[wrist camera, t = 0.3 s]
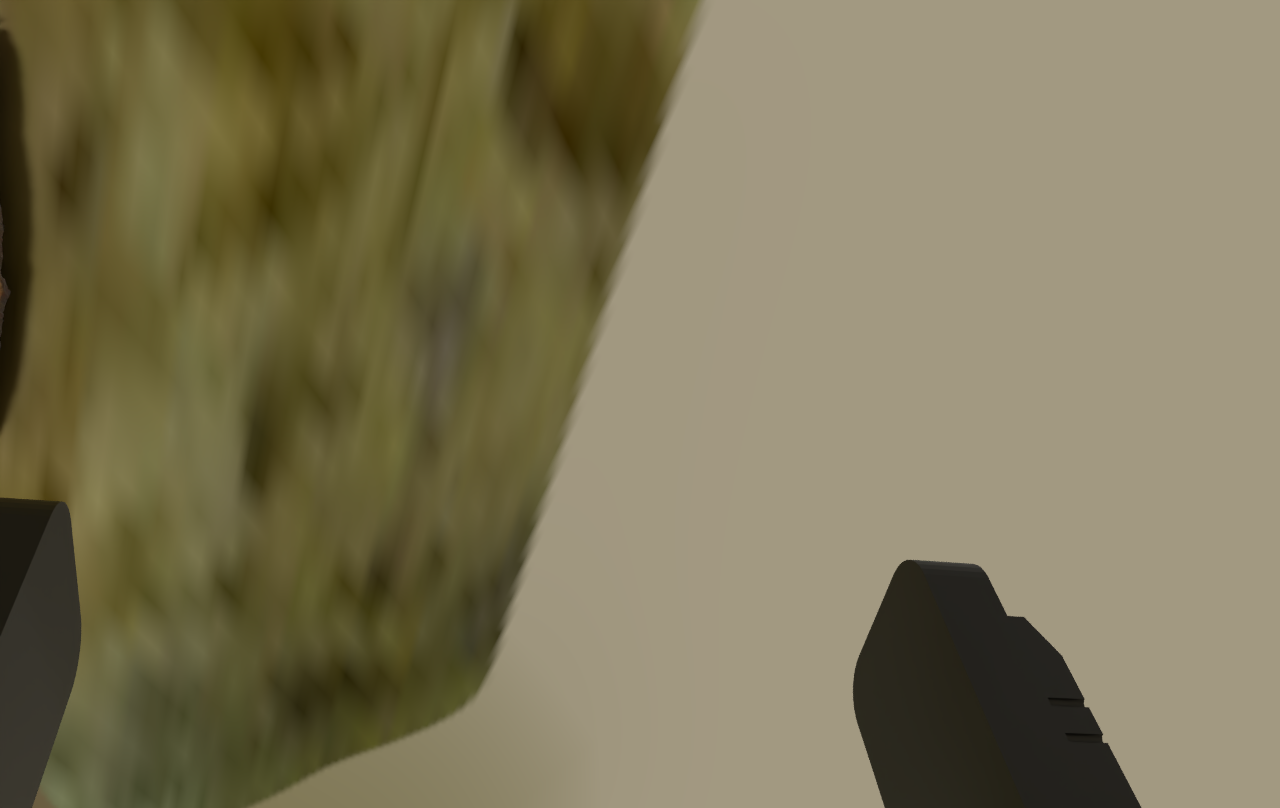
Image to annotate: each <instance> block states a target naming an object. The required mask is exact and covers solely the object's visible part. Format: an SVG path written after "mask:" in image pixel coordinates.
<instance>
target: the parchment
mask: <svg viewBox="0 0 1280 808" xmlns="http://www.w3.org/2000/svg"><path fill="white" fill-rule="evenodd" d="M2 223H3V218H2V213H1V205H0V270H1V265H2V260H3V252H2V241H3V239H2V236H3V232H4V228H5V225H4V224H2ZM10 293H11V291H10V290H9V289H8V287H7V284H6V281H5V278H3V277H2V275H1V271H0V335H1V334H2V323H3V321H4V320H2V319H3V317H4V314H3V311H4V307H5V305H6V302H7V299H8V297H9V295H10ZM0 349H1V343H0Z"/></svg>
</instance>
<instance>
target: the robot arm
mask: <svg viewBox="0 0 1280 808" xmlns="http://www.w3.org/2000/svg"><path fill="white" fill-rule="evenodd" d="M80 643H81V614H80V605H79V595H78V585H77V575H76V566H75V556H74V546H73V536H72V527H71V518H70V513H69V509H68V507H67V505H66V503H65V502H59V501H44V500H29V499H14V498H0V808H32V806H33V803H34V800H35V797H36V794H37V791H38V788H39V785H40V782H41V779H42V776H43V773H44V770H45V767H46V765H47V762H48V759H49V756H50V753H51V750H52V747H53V744H54V741H55V738H56V735H57V732H58V729H59V726H60V723H61V720H62V717H63V714H64V711H65V708H66V705H67V702H68V699H69V697H70V694H71V690H72V687H73V684H74V680H75V676H76V671H77V666H78V660H79V652H80ZM853 701H854V710H855V714H856V719H857V723H858V726H859V729H860V732H861V735H862V738H863V741H864V745H865V748H866V751H867V753H868V757H869V760H870V763H871V766H872V769H873V772H874V775H875V778H876V782H877V785H878V788H879V791H880V794H881V797H882V800H883V803H884V806H885V808H1141V806H1140V804H1139V802H1138V800H1137V799H1136V797H1135V795H1134V793H1133V791H1132V789H1131V787H1130V785H1129V783H1128V781H1127V779H1126V778H1125V776H1124V774H1123V772H1122V770H1121V768H1120V766H1119V764H1118V762H1117V760H1116V758H1115V756H1114V755H1113V753H1112V751H1111V749H1110V747H1109V745H1108V743H1103V742H1102V735H1103V734H1102V732H1101V730H1100V728H1099V726H1098V724H1097V722H1096V720H1095V718H1094V716H1093V715H1092V713H1091V711H1090V709H1089V708H1088V707H1084V697H1083V695H1082V693H1081V691H1080V690H1079V688H1078V686H1077V684H1076V682H1075V680H1074V678H1073V676H1072V674H1071V672H1070V670H1069V669H1068V667H1067V665H1066V663H1065V661H1064V659H1063V657H1062V656H1061V655H1060V654H1059V652H1058V651H1056V649H1055V648H1054V647H1053V646H1052V645H1051V644H1050V643H1049V642H1048V641H1047V640H1045V638H1044V637H1043V636H1042V635H1041V634H1040V633H1039V632H1038V631H1037V630H1036V629H1035V628H1034V627H1033V626H1032V625H1031V624H1030V623H1029V622H1028V621H1027V620H1026V619H1025V618H1024V617H1013V616H1007V614H1006V612H1005V611H1004V608H1003V606H1002V604H1001V602H1000V600H999V598H998V596H997V594H996V592H995V590H994V588H993V586H992V584H991V582H990V580H989V578H988V576H987V575H986V573H985V572H984V570H982V568H981V567H979V566H978V565H975V564H965V563H950V562H935V561H920V560H906V561H904V562H902V563H901V564H900V565H899V566H898V568H897V570H896V571H895V573H894V575H893V577H892V580H891V582H890V584H889V587H888V589H887V592H886V594H885V596H884V599H883V601H882V603H881V606H880V608H879V611H878V613H877V615H876V617H875V620H874V622H873V625H872V627H871V629H870V631H869V634H868V636H867V639H866V641H865V644H864V646H863V648H862V650H861V653H860V655H859V658H858V661H857V664H856V668H855V673H854V682H853Z"/></svg>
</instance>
